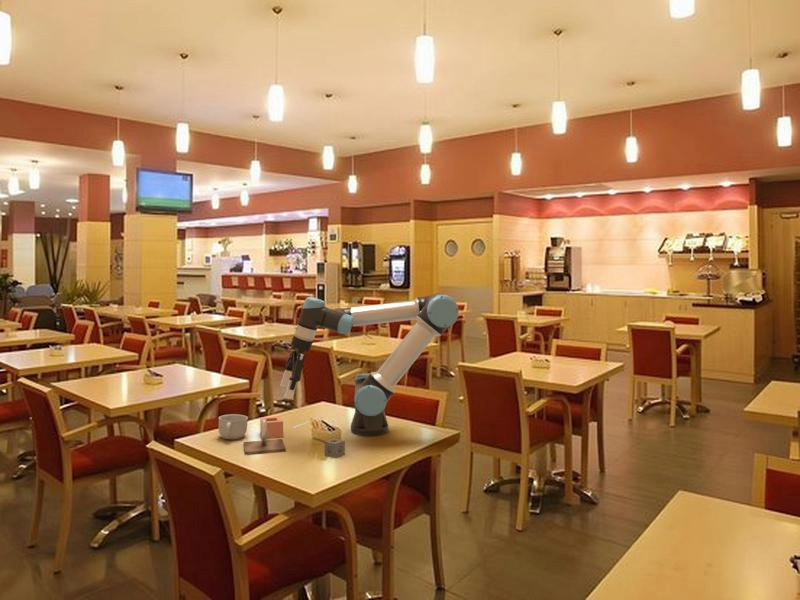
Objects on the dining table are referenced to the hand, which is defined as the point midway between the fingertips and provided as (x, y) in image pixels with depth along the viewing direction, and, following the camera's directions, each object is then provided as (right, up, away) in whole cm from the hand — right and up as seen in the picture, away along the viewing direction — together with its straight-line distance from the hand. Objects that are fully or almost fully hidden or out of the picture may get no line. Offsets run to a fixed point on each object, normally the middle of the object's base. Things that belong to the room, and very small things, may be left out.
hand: (285, 392), depth 217 cm
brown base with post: (-7, -19, -6) cm, 21 cm away
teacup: (-21, -19, +5) cm, 29 cm away
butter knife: (+5, -18, +32) cm, 36 cm away
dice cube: (+20, -20, -13) cm, 31 cm away
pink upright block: (-7, -18, +10) cm, 22 cm away
